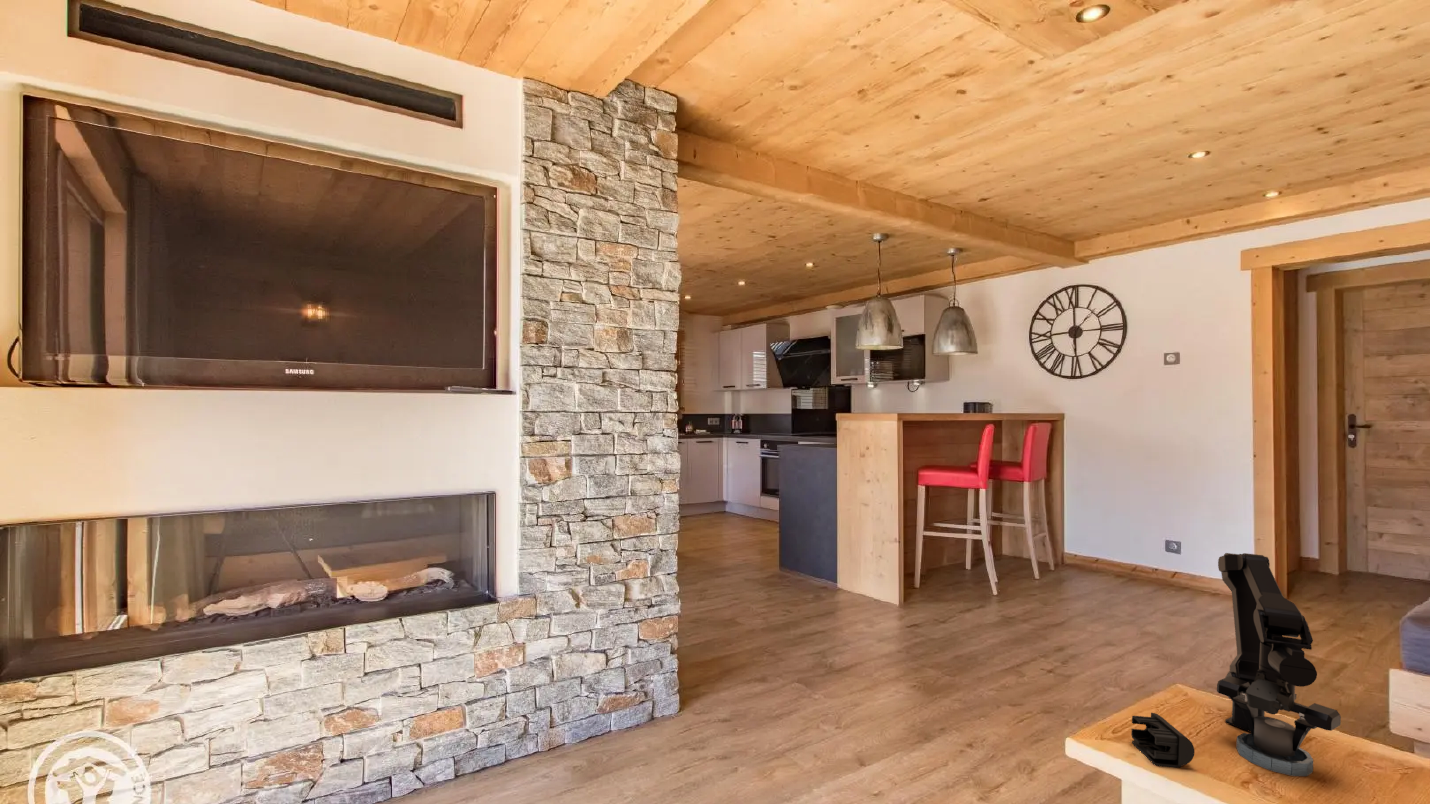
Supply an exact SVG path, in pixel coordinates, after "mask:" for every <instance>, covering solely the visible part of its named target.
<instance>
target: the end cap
mask: <svg viewBox="0 0 1430 804" xmlns="http://www.w3.org/2000/svg"><path fill="white" fill-rule="evenodd" d="M1131 724H1133V725H1144V726H1145V728H1144V729H1138V728H1131V735H1130V736H1131V738H1132V741H1131V743H1132V745H1133V746H1134V747H1135V749H1137V750H1138V751H1139V752H1140V751H1141V752H1140V753H1141V754H1142V753H1143V754H1144V755H1145V756H1146V757H1147V758H1146V757H1145V756H1144V755H1143V754H1142V755H1143V756H1144V757H1145V758H1146V759H1147V760H1148V761H1150V762H1151V761H1152V762H1151V764H1152V765H1154V764H1155V765H1156V767H1159V768H1160V767H1161V768H1162V767H1163V768H1173V769H1180V768H1181V767H1182V766H1183V767H1184V766H1186V765H1188V764H1189V763H1190V762H1192V760H1193V758H1194V757H1195V747H1194V744H1193V743H1192V741H1191V740H1190V739H1189V738H1188V737H1186V736H1185V735H1184V734H1183V733H1182V732H1180V731H1179V730H1178V729H1177V728H1175V727H1174V725H1172V724H1171V723H1170V722H1168V721H1167V720H1166V719H1165V718H1164V717H1162V716H1161V715H1159V714H1158V713H1155V712H1151V713H1150V716H1144V715H1132V717H1131ZM1155 765H1154V766H1155Z"/></svg>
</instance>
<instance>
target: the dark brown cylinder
mask: <svg viewBox="0 0 1430 804" xmlns="http://www.w3.org/2000/svg"><path fill="white" fill-rule="evenodd" d="M1294 733H1295V725H1294V726H1293V725H1292V724H1290V723H1288V722H1286V721H1284V720H1281V719H1278V718H1274V717H1271V716H1265V715H1264V716H1257V717H1255V718H1254V741H1253V743H1254V744H1255V745H1256V746H1257V747H1258V748H1260V749H1262V750H1264V751H1266V752H1269V753H1272V754H1275V755H1279V756H1285V757H1292V756H1294V755H1295V751H1293V739H1294Z"/></svg>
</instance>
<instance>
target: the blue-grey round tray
mask: <svg viewBox="0 0 1430 804" xmlns="http://www.w3.org/2000/svg"><path fill="white" fill-rule="evenodd" d="M1253 741H1254V736H1253V735H1252V734H1251V732H1250V733H1249V732H1242V733H1241V734H1239V735H1236V750H1237V752H1238V754H1239V756H1241V757H1243V758H1244V759H1245V760H1247V761H1248V762H1250V763H1251V764H1254V765H1256V766H1258V767H1261V768H1263V769H1265V770H1267V771H1270V772H1273V773H1279V774H1283V775H1288V776H1292V777H1307V776H1310V775H1311V774H1312V773H1313V772H1314V758H1313V757H1312V755H1311V754H1310V753H1309V752H1308V751H1307V750H1305V749H1303V748H1301V746H1300V747H1299V748H1298V750H1297V751H1296V752H1295V755H1294V756H1292V757H1285V756H1279V755H1275V754H1272V753H1269V752H1266V751H1264V750H1262V749H1260V748H1258V747H1257V746H1256V745H1255V744H1254V743H1253Z"/></svg>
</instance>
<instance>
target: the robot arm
mask: <svg viewBox="0 0 1430 804" xmlns="http://www.w3.org/2000/svg"><path fill="white" fill-rule="evenodd" d="M1270 566H1271V565H1270V559H1269V557H1268V556H1265V555H1263V554H1254V553H1239V554H1238V553H1229V552H1225V553H1224V554H1223V555H1221V556H1219V557H1218V560H1217V567H1218V571H1219V572H1221V579H1222V581H1223V583H1224V584H1225V585H1226V587H1228V589H1229V590H1230V591H1231V597H1232V599H1231V600H1232V609H1233V610H1232V611H1233V621H1234V622H1233V623H1234V632H1235V644H1236V645H1235V646H1236V656H1235V657H1234V659H1233V660H1232V662H1230V664H1229V671H1228V672H1227V674H1226V676H1225V677H1224V678H1222V679H1219V680H1218V681H1217V684H1216V692H1217V693H1218V694H1221V695H1223V696H1226V697H1228V699H1230V700H1231V702H1232V704H1231V706H1232V707H1231V716H1230V717H1228V718H1226V719H1225V720H1224V722H1225V723H1226V724H1228V725H1231V726H1234V727H1237V728H1239V729H1242V730H1245V731H1247V732H1250V733H1251V734H1252V735H1253V736H1254V718H1255V717H1257V716H1265V712H1266V713H1267V714H1270V715H1276V714H1278V713H1279V711H1285V712H1289V713H1290V712H1292V713H1295V714H1298V716H1299V718H1297V719H1295V720H1294V722H1293V723H1294V727H1295V733H1294V739H1293V751H1295V752H1296V751H1297V750H1298V748H1299V747H1300V748H1301V745H1302V743H1303V742H1304V740H1305V738H1306V737H1307V735H1308V734H1309V733H1310V731H1311V730H1316V728H1319V729H1321V730H1324V731H1328V732H1329V731H1330V732H1331V731H1333V730H1335V729H1337V728H1338V727H1339V726H1341V722H1342V721H1341V719H1342V717H1341V714H1340V712H1339V711H1338V710H1337V709H1334V708H1331V707H1328V706H1325V705H1323V704H1322V705H1321V704H1318V703H1315V702H1314V703H1312V704H1310V705H1308V706H1307V705H1304V704H1302V703H1297V702H1296V701H1295V700H1297V695H1298V694H1296V687H1301V688H1302V687H1308V686H1310V685H1312V684H1313V683H1315V681H1316V680H1317V676H1318V671H1317V669H1316V666H1314V664H1313V663H1312V662H1311V661H1310V660H1309V659H1308V658H1307V657H1305V651H1304V650H1310V651H1312V648H1313V647H1312V644H1313V641H1314V640H1313V636H1312V634H1311V630H1310V627H1309V624H1308V622H1307V621H1306V618H1305V616H1304V615H1302V613H1301V611H1300V609H1299V608H1298V607H1297V605H1296V603H1294V602H1293V601H1290V600H1289V599H1288V598H1286V597H1285V596H1283V593H1282V591H1281V589H1280V587H1279V585H1278V582H1277V581H1276V578H1275V576H1274V574H1273V571H1272V570H1271V568H1270ZM1298 637H1299V638H1298ZM1303 649H1304V650H1303Z"/></svg>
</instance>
